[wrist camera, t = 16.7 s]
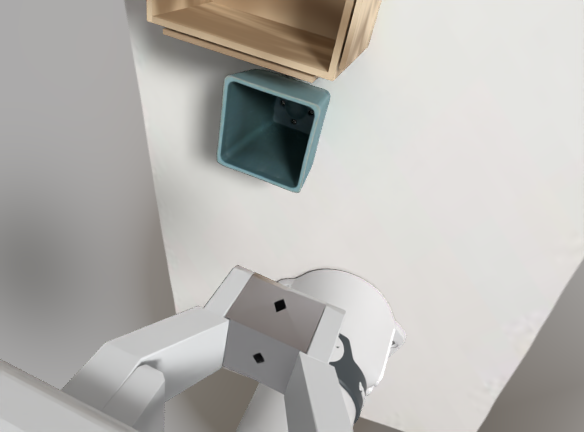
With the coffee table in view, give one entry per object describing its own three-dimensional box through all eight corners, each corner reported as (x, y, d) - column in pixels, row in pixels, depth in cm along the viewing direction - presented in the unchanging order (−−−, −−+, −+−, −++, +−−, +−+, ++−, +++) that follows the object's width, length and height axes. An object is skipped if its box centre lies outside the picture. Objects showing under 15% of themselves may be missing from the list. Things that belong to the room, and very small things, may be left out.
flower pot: (265, 51, 42) (223, 73, 35) (348, 77, 40) (321, 106, 33) (254, 129, 47) (215, 163, 40) (326, 155, 45) (299, 195, 38)
